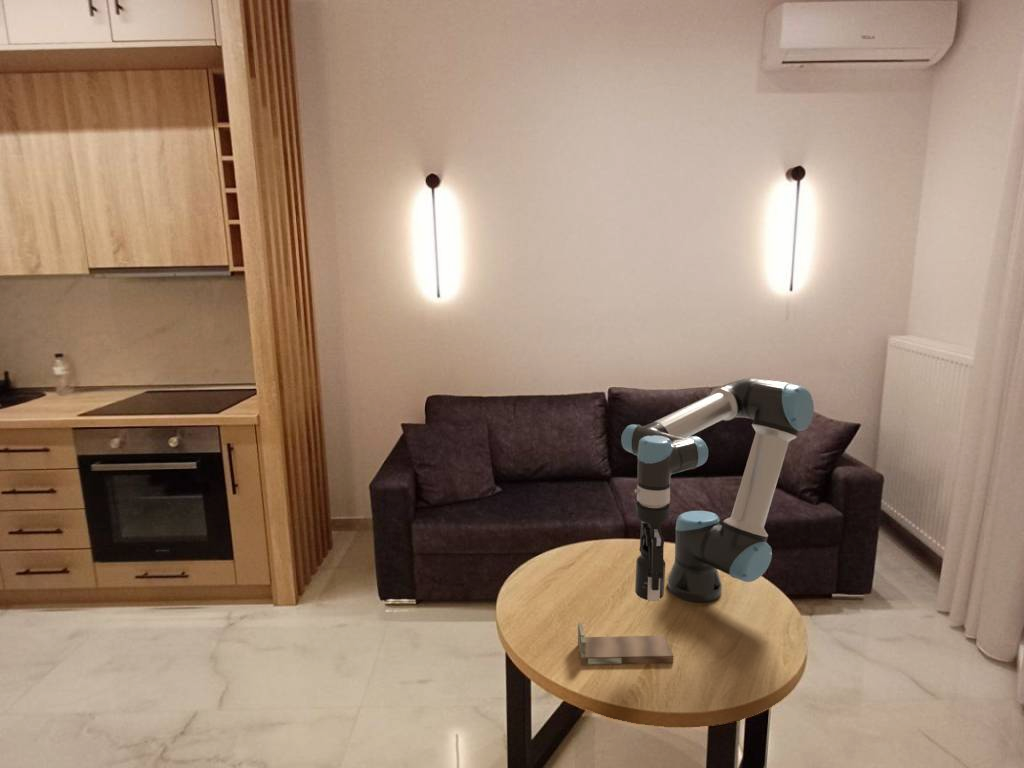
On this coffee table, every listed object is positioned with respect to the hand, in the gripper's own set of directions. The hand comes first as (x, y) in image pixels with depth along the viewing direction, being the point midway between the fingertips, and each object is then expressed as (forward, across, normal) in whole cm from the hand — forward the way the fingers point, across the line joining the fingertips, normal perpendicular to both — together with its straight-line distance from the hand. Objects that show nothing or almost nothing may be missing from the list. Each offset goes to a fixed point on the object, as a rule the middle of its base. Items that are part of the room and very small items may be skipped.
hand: (649, 591), depth 148 cm
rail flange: (+17, 0, -6) cm, 18 cm away
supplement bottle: (+1, 0, 0) cm, 1 cm away
